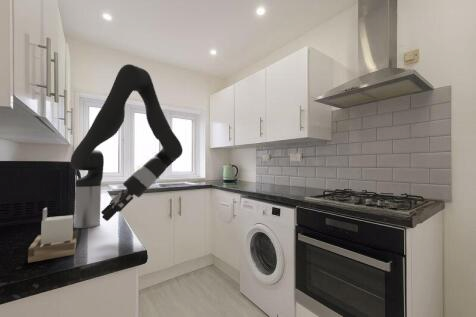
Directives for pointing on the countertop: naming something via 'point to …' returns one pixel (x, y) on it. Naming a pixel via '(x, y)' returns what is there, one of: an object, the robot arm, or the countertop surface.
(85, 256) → the countertop surface
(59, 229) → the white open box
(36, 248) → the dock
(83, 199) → the robot arm
